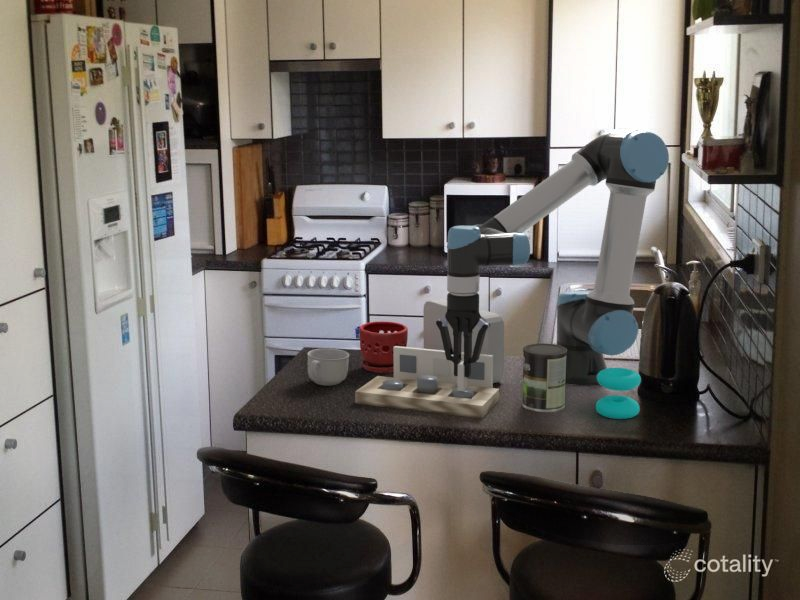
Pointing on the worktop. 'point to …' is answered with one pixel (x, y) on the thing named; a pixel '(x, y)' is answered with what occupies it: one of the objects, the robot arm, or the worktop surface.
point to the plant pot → (381, 344)
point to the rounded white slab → (491, 342)
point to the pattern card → (439, 366)
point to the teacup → (327, 366)
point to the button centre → (427, 384)
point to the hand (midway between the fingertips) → (462, 389)
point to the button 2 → (463, 393)
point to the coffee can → (544, 377)
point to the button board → (428, 398)
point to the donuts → (615, 403)
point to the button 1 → (393, 385)
